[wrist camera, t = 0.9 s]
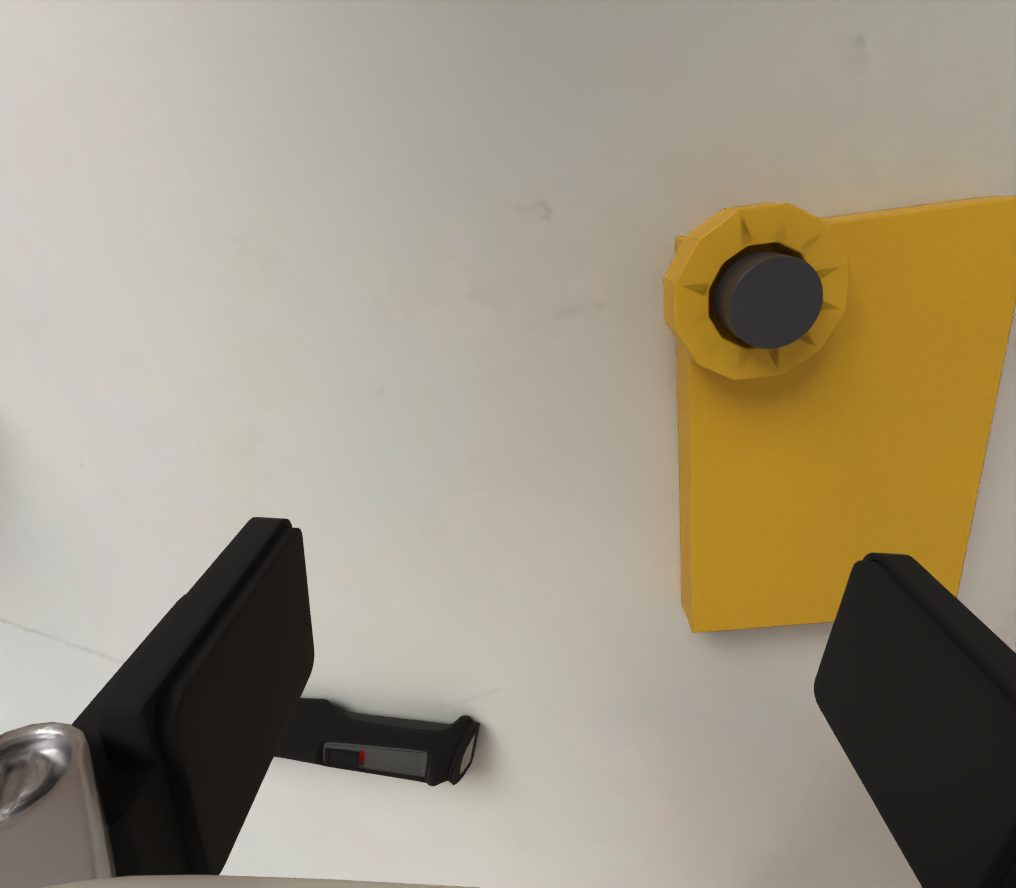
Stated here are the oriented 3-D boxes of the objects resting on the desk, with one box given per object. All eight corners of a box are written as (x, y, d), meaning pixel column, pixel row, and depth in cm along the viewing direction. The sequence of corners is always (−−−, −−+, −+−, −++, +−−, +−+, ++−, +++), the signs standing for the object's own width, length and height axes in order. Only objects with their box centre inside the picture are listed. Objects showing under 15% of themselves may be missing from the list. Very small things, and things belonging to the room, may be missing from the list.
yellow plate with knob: (649, 215, 23) (672, 218, 19) (996, 168, 22) (1090, 162, 18) (662, 606, 30) (681, 662, 27) (924, 584, 29) (982, 639, 26)
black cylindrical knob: (713, 257, 20) (729, 262, 19) (803, 245, 20) (827, 249, 18) (713, 342, 21) (728, 354, 20) (798, 332, 21) (820, 343, 20)
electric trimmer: (210, 668, 33) (179, 713, 30) (482, 711, 34) (477, 760, 31) (212, 716, 35) (183, 764, 32) (473, 757, 35) (467, 809, 32)
